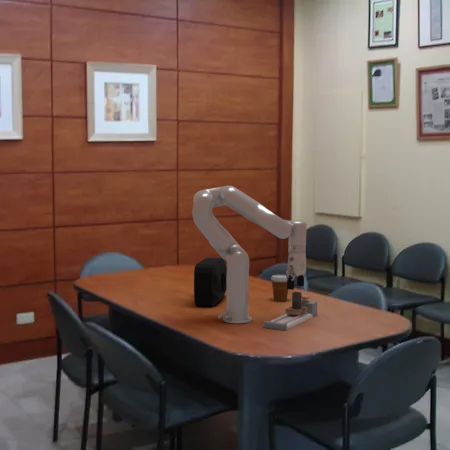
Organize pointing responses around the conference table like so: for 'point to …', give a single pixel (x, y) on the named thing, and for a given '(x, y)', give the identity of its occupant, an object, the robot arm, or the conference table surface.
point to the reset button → (305, 297)
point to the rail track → (292, 318)
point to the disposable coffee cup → (279, 287)
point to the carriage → (296, 305)
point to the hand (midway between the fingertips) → (295, 287)
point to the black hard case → (209, 281)
